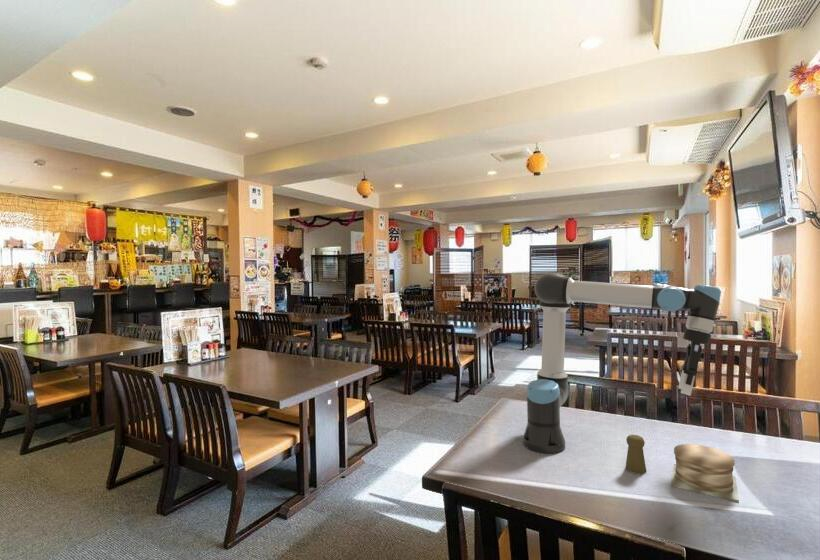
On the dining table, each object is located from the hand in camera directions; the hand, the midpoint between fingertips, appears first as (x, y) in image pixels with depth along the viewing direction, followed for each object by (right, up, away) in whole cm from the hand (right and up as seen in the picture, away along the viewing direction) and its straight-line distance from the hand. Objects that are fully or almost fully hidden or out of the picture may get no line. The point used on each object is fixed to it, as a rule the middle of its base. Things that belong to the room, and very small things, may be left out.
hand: (684, 392), depth 139 cm
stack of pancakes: (-3, -24, -14) cm, 28 cm away
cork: (-19, -24, -5) cm, 31 cm away
